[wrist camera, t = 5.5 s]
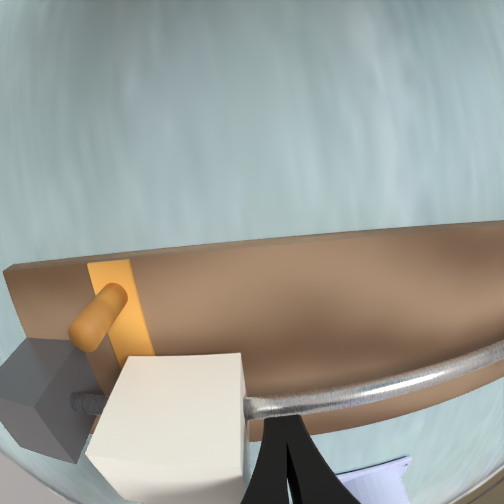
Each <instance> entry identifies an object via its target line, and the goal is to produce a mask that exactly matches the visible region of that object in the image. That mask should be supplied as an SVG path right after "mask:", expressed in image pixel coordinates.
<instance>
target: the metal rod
mask: <svg viewBox="0 0 504 504" xmlns="http://www.w3.org/2000/svg"><path fill="white" fill-rule="evenodd" d="M501 359H504V340H502V341H499V342H497V343H494V344H492V345H489V346H486V347H484V348H481V349H478V350H476V351H473V352H470V353H467V354H464V355H461V356H458V357H455V358H452V359H449V360H446V361H442V362H439V363H436V364H433V365H429V366H426V367H422V368H418V369H415V370H411V371H407V372H403V373H399V374H395V375H391V376H387V377H382V378H378V379H373V380H368V381H364V382H359V383H353V384H348V385H342V386H337V387H331V388H324V389H318V390H311V391H304V392H296V393H287V394H278V395H268V396H256V397H243V412H244V418H245V420H259V419H265V418H268V417H278V416H287V415H296V414H299V415H305V414H312V413H319V412H325V411H331V410H337V409H342V408H347V407H352V406H357V405H362V404H367V403H371V402H376V401H380V400H384V399H388V398H392V397H396V396H399V395H403V394H407V393H410V392H414V391H417V390H421V389H424V388H427V387H430V386H433V385H437V384H440V383H443V382H445V381H448V380H451V379H454V378H457V377H460V376H462V375H465V374H468V373H470V372H473V371H475V370H478V369H480V368H483V367H485V366H488V365H490V364H492V363H495V362H497V361H499V360H501ZM109 397H110V396H103V395H93V394H85V393H77V392H74V393H72V394H71V396H70V407H71V409H72V410H73V411H74V412H78V413H84V414H91V415H98V416H101V415H102V413H103V410H104V408H105V406H106V404H107V402H108V399H109Z"/></svg>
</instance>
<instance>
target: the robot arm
mask: <svg viewBox="0 0 504 504" xmlns="http://www.w3.org/2000/svg"><path fill="white" fill-rule="evenodd" d="M411 461H412V458H411V457H410V456H408V457H405V458H402V459H398V460H395V461H392V462H389V463H385V464H382V465H378V466H374V467H371V468H367V469H363V470H358V471H354V472H350V473H345V474H340V475H335V474H334V472H333V471H332V470H331V469H330V467H329V466H328V464H327V463H326V462H325V460H324V458H323V457H322V455H321V454H320V452H319V451H318V449H317V447H316V446H315V444H314V442H313V441H312V439H311V437H310V435H309V433H308V431H307V429H306V427H305V424H304V422H303V419H302V417H301V415H299V414H296V415H287V416H278V417H268V418H265V419H264V429H263V437H262V443H261V447H260V452H259V455H258V459H257V462H256V466H255V469H254V472H253V475H252V477H251V480H250V483H249V485H248V488H247V490H246V492H245V495H244V497H243V499H242V501H241V503H240V504H289V497H288V489H287V479H288V483H289V488H290V492H291V497H292V501H293V504H411V503H410V501H409V498H408V495H407V493H406V490H405V487H404V485H403V482H402V480H401V478H402V476H403V475H404V473H405V471H406V470H407V468H408V466H409V465H410V463H411Z"/></svg>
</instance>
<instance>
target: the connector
mask: <svg viewBox="0 0 504 504" xmlns="http://www.w3.org/2000/svg"><path fill="white" fill-rule="evenodd" d="M74 392H77V393H85V394H93V395H103V396H105V395H104V393H103V391H102V389H101V387H100V385H99V383H98V381H97V379H96V377H95V375H94V372H93V370H92V368H91V366H90V364H89V361H88V359H87V357H86V354H85V352H84V351H82V350H80V349H78V348H77V347H76V346H75V345H74V344H73V343H72V342H71V340H59V339H42V338H28V337H27V338H26V339H25V340H24V341H23V342H22V343H21V344H20V345H19V347H18V348H17V349H16V350H15V351H14V352H13V353H12V354H11V355H10V357H9V358H8V359H7V360H6V361H5V362H4V363H3V365H2V366H1V367H0V421H1V423H2V424H3V425H4V427H5V428H6V429H7V431H8V432H9V433H10V435H11V436H12V437H13V438H14V440H15V441H16V442H17V443H18V445H19V446H20V447H23V448H25V449H28V450H31V451H34V452H37V453H40V454H43V455H46V456H49V457H52V458H56V459H59V460H63V461H66V462H70V463H74V464H77V461H78V459H79V456H80V454H81V451H82V449H83V447H84V444H85V442H86V440H87V437H88V435H89V433H90V430H91V428H92V426H93V424H94V421H95V419H96V417H97V415H91V414H84V413H78V412H74V411H73V410H72V409H71V407H70V396H71V394H72V393H74Z"/></svg>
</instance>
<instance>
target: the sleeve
mask: <svg viewBox="0 0 504 504" xmlns="http://www.w3.org/2000/svg"><path fill="white" fill-rule="evenodd" d="M243 397H247V394H246V387H245V381H244V374H243V367H242V359H241V353H230V354H213V355H190V356H129V357H128V359H127V361H126V363H125V365H124V367H123V369H122V371H121V373H120V376H119V378H118V380H117V382H116V384H115V386H114V388H113V391H112V393H111V395H110V397H109V399H108V402H107V404H106V406H105V408H104V410H103V413H102V415H101V417H100V420H99V422H98V424H97V426H96V429H95V431H94V433H93V436H92V438H91V441H90V443H89V445H88V448H87V450H86V453H85V455H86V456H87V457H88V458H89V460H90V461H91V462H92V463H93V465H94V466H95V467H96V468H97V469H98V471H99V472H100V473H101V474H102V475H103V476H104V478H105V479H106V480H107V481H108V482H109V483H110V484H111V485H112V487H113V488H114V489H115V490H116V491H117V492H118V493H119V494H120V495H121V496H122V497H123V498H124V499H125V500H126V501H132V502H138V503H144V504H240V503H241V501H242V499H243V497H244V495H245V492H246V490H247V488H248V485H249V483H250V480H251V474H250V439H249V420H245V418H244V412H243Z"/></svg>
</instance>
